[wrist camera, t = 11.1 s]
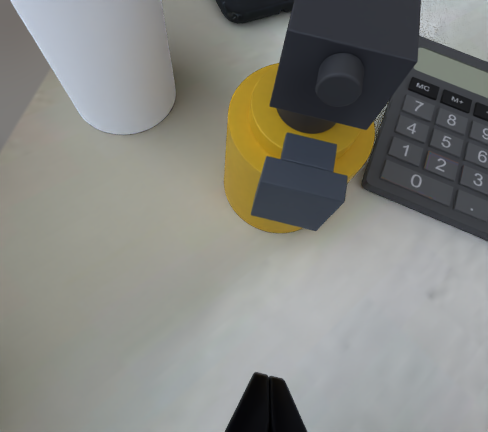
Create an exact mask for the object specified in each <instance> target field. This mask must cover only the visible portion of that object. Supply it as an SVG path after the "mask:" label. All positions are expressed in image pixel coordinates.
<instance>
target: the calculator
mask: <svg viewBox="0 0 488 432" xmlns="http://www.w3.org/2000/svg"><path fill="white" fill-rule="evenodd" d="M362 186H363V188H365V189H366V190H369V191H371V192H373V193H376V194H378V195H381V196H383V197H385V198H388V199H390V200H392V201H395V202H397V203H400V204H402V205H404V206H407V207H409V208H412V209H414V210H416V211H419V212H421V213H423V214H426V215H428V216H431V217H433V218H435V219H438V220H440V221H442V222H445V223H447V224H450V225H452V226H454V227H457V228H459V229H461V230H464V231H466V232H469V233H471V234H473V235H476V236H478V237H480V238H483V239H485V240H488V62H486V61H483V60H481V59H478V58H476V57H473V56H470V55H468V54H465V53H463V52H460V51H457V50H455V49H452V48H450V47H447V46H444V45H442V44H439V43H437V42H434V41H431V40H429V39H426V38H424V37H421V36H419V47H418V62H417V63H416V65H415V66H414V67H413V69H412V70H411V71H410V73H409V74H408V75H407V77H406V78H405V79H404V81H403V82H402V83H401V85H400V86H399V87H398V89H397V90H396V92H395V93H394V94H393V96H392V97H391V98H390V100H389V103H388V106H387V109H386V112H385V115H384V118H383V121H382V124H381V127H380V130H379V133H378V136H377V139H376V142H375V145H374V148H373V151H372V154H371V157H370V160H369V163H368V166H367V169H366V172H365V175H364V178H363V181H362Z"/></svg>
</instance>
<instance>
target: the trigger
mask: <svg viewBox="0 0 488 432" xmlns="http://www.w3.org/2000/svg"><path fill="white" fill-rule="evenodd" d="M336 151H337V144H334V143H330V142H326V141H321V140H317V139H313V138H309V137H305V136H301V135H297V134H293V133H289V132H287V133H286V136H285V139H284V144H283V148H282V153H281V157H280V159H277V158H273V157H269V156H266V158H265V162H264V165H263V169H262V172H261V176H260V179H259V183H258V186H257V190H256V193H255V197H254V201H253V206H252V210H251V215H252V216H256V217H260V218H264V219H268V220H273V221H277V222H281V223H285V224H289V225H293V226H297V227H301V228H305V229H309V230H314V231H317V230H318V229H319V228H320V226H321V225H322V224H323V223H324V222H325V221H326V220H327V219H328V218H329V217H330V216H331V215H332V214H333V213H334V212H335V211H336V210H337V209H338V208H339V207H340V206H341V205H342V204H343V203H344V202H345V195H346V187H347V179H348V176H347V175H343V174H339V173H335V172H333V171H334V165H335V158H336Z"/></svg>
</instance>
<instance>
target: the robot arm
mask: <svg viewBox="0 0 488 432" xmlns="http://www.w3.org/2000/svg"><path fill="white" fill-rule="evenodd" d="M225 432H307V430H306V428H305V426H304V423H303V421H302V419H301V416H300V414H299V412H298V410H297V407H296V405H295V403H294V401H293V398H292V396H291V394H290V391H289V389H288V387H287V385H286V382H285V381H284V380H283V379H282V378H278V377H274V376H269V377H268V375H266V374H262V373H258V372H255V373H254V374H253V376H252V378H251V380H250V382H249V384H248V386H247V388H246V390H245V392H244V394H243V396H242V398H241V400H240V402H239V404H238V406H237V408H236V410H235V412H234V414H233V416H232V418H231V420H230V422H229V424H228V426H227V428H226V430H225Z"/></svg>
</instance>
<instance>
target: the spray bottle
mask: <svg viewBox="0 0 488 432" xmlns="http://www.w3.org/2000/svg"><path fill="white" fill-rule="evenodd" d="M420 8H421V0H294V4H293V8H292V12H291V16H290V20H289V24H288V28H287V32H286V37H285V41H284V45H283V49H282V54H281V58H280V62H279V63H277V64H273V65H269V66H266V67H264V68H261V69H259V70H257V71H255V72H254V73H252V74H251V75H249V76H248V77H247V78H246V79H245V80H244V81H243V82H242V83H241V84H240V85H239V86H238V88H237V89H236V91H235V93H234V94H233V96H232V99H231V101H230V105H229V110H228V123H227V140H226V156H225V173H224V188H225V193H226V196H227V199H228V201H229V203H230V205H231V207H232V208H233V210H234V211H235V212H236V213H237V214H238V215H239V216H240V218H242V219H243V220H244V221H245V222H247V223H248V224H250V225H252V226H253V227H255V228H258V229H260V230H263V231H266V232H272V233H289V232H294V231H297V230H300V229H302V228H301V227H297V226H293V225H289V224H285V223H281V222H277V221H273V220H268V219H264V218H260V217H256V216H252V215H251V210H252V206H253V201H254V197H255V193H256V190H257V186H258V183H259V179H260V176H261V172H262V169H263V165H264V162H265V158H266V156H269V157H273V158H277V159H280V157H281V153H282V148H283V144H284V139H285V136H286V133H287V132H289V133H293V134H297V135H301V136H305V137H309V138H313V139H317V140H321V141H326V142H330V143H334V144H337V151H336V158H335V165H334V171H333V172H335V173H339V174H343V175H347V176H348V179H347V183H348V182H349V181H350V180H351V179H352V178H353V177H354V175H355V174H356V173H357V172H358V171H359V170H360V169H361V167H362V166H363V165H364V164H365V162H366V161H367V159H368V157H369V155H370V153H371V151H372V148H373V144H374V138H375V128H374V120H375V118H376V117H377V116H378V114H379V113H380V112H381V110H382V109H383V108H384V106H385V105H386V104H387V102H388V101H389V100H390V98H391V97H392V96H393V94H394V93H395V92H396V90H397V89H398V87H399V86H400V85H401V83H402V82H403V81H404V79H405V78H406V77H407V75H408V74H409V73H410V71H411V70H412V69H413V67H414V66H415V65H416V63H417V62H418V47H419V27H420Z"/></svg>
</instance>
